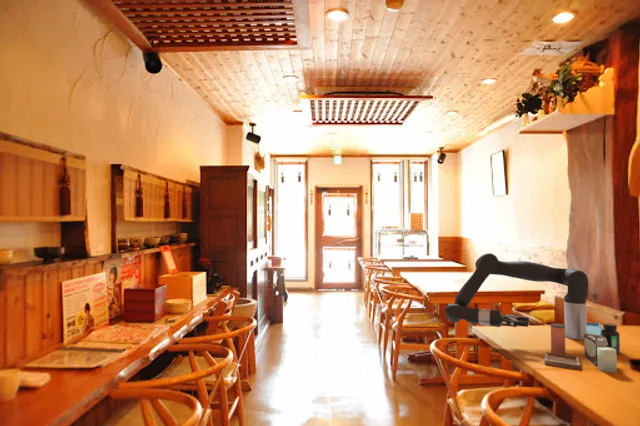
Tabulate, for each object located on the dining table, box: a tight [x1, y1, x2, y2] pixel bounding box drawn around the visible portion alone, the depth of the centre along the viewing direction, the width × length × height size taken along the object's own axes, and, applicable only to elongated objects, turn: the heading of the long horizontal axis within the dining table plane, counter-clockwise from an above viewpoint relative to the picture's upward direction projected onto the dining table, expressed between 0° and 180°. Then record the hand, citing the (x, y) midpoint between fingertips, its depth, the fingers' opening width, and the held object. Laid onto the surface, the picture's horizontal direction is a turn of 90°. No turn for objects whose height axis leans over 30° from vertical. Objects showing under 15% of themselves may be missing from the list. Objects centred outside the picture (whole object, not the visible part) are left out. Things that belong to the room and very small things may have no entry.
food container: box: [583, 333, 608, 367], centre depth 166 cm, size 12×6×10 cm, turn 168°
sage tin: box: [597, 347, 618, 374], centre depth 157 cm, size 6×6×8 cm
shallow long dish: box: [586, 321, 604, 336], centre depth 212 cm, size 26×9×2 cm, turn 151°
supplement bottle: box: [601, 322, 621, 355], centre depth 179 cm, size 7×7×12 cm
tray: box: [544, 351, 581, 371], centre depth 165 cm, size 12×12×2 cm
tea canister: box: [550, 322, 566, 355], centre depth 178 cm, size 6×6×12 cm
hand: (528, 322), depth 183 cm, fingers open, 8 cm apart
